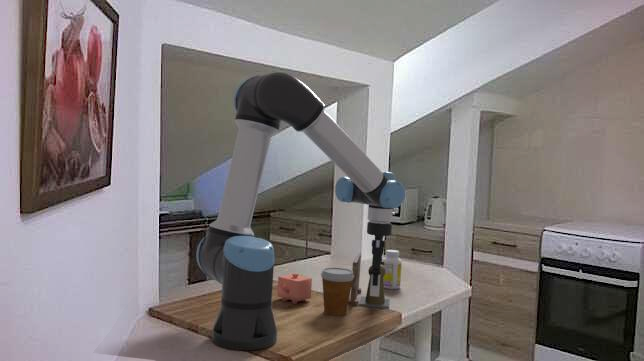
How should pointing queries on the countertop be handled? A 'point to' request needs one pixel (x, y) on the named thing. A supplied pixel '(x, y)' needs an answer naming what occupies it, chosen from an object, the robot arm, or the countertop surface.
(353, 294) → the screen
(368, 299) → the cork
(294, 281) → the pink cube teapot
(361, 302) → the coaster
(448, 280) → the countertop surface
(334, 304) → the disposable coffee cup
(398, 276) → the supplement bottle
